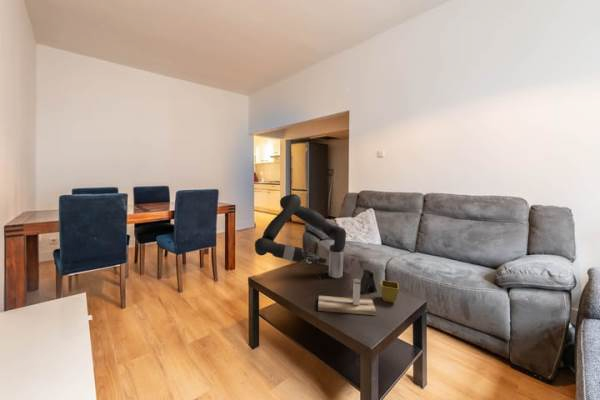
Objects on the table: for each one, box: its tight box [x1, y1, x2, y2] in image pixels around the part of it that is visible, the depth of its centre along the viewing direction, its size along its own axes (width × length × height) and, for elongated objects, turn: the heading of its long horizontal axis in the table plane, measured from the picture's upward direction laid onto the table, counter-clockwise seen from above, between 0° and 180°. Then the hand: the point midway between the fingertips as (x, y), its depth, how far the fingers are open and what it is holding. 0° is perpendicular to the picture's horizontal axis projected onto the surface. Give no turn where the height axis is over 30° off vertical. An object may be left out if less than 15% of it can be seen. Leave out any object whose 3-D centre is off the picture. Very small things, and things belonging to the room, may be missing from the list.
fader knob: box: [352, 278, 361, 305], centre depth 130 cm, size 4×3×12 cm
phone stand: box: [360, 268, 378, 295], centre depth 150 cm, size 9×6×12 cm, turn 108°
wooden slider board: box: [317, 295, 377, 316], centre depth 131 cm, size 12×28×2 cm, turn 84°
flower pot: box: [380, 280, 400, 304], centre depth 139 cm, size 9×9×9 cm
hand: (325, 261), depth 132 cm, fingers closed
